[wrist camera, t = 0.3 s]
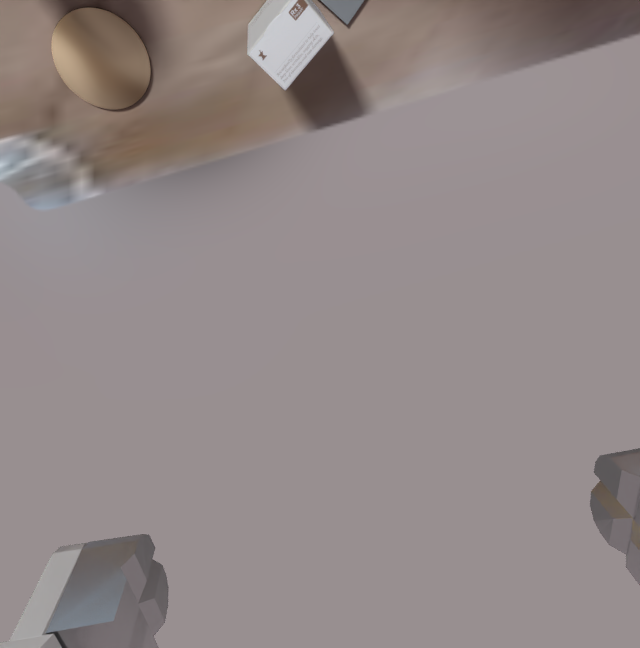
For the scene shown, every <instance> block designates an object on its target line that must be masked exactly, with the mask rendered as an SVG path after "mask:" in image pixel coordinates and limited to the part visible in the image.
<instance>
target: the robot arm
mask: <svg viewBox="0 0 640 648" xmlns="http://www.w3.org/2000/svg"><path fill="white" fill-rule="evenodd" d="M594 473H595V475H596V476H597V477H598V478H599V479H600V480H601V481H600V482H599V483H598V484H597V485H596V486H595V488H594V489H593V490H592V491H591V500H590V507H591V511H592V515H593V519H594V521H595V523H596V526H597V527H598V529H599V531H600V533H601V534H602V536H603V537H604V538H605V540H606V541H607V543H608V544H609V545H610V546H612V547H614V548H616V549H618V550H619V551H621V552H623V553H625V554H626V568H627V569H628V570H629V572H630V573H631V574H632V576H633V577H634V578H635V580H636V581H637V582H638V584H639V585H640V448H638V449H633V450H628V451H622V452H617V453H611V454H606V455H601V456H599V458H598V459H597V461H596V462H595V468H594ZM154 551H155V546H154V544H153V542H152V540H151V538H150V536H149V535H146V534H141V535H134V536H127V537H120V538H113V539H106V540H100V541H93V542H88V543H82V544H75V545H69V546H62V547H60V548H59V549H58V550H57V551H55V552H54V553H53V554H52V556H51V558H50V560H49V562H48V564H47V566H46V568H45V570H44V572H43V574H42V576H41V578H40V580H39V582H38V584H37V586H36V588H35V590H34V592H33V594H32V596H31V598H30V600H29V602H28V604H27V606H26V608H25V610H24V612H23V614H22V616H21V618H20V621H19V622H18V624H17V626H16V628H15V630H14V632H13V634H12V636H11V638H10V641H7V642H2V643H0V648H158V646H157V643H156V641H155V639H154V635H155V634H156V633H157V632H158V630H159V629H160V628H161V626H162V625H163V624H164V623H165V619H166V614H167V608H168V583H167V577H166V573H165V571H164V568H163V566H162V565H161V564H160V563H158V562H156V561H155V560H153V559H152V558H153V554H154Z"/></svg>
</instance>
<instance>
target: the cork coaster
mask: <svg viewBox="0 0 640 648" xmlns="http://www.w3.org/2000/svg"><path fill="white" fill-rule="evenodd" d="M52 55H53V60H54V63H55V66H56V68H57V71H58V72H59V74H60V76H61V78H62V79H63V81H64V82H65V83H66V85H67V86H68V87H69V88H70V89H71V90H72V91H73V92H74V93H75V94H76V95H77V96H79V97H80V98H81V99H83V100H84V101H86V102H88V103H90V104H92V105H94V106H97V107H100V108H104V109H114V110H115V109H123V108H127V107H129V106H131V105H133V104H135V103H136V102H137V101H138V100H140V98H141V97H142V96H143V95H144V93H145V91H146V90H147V87H148V85H149V81H150V75H151V66H150V60H149V56H148V53H147V50H146V48H145V46H144V44H143V42H142V40H141V39H140V37H139V36H138V34H137V33H136V32H135V31H134V29H133V28H132V27H131V26H130V25H129V24H128V23H126V22H125V21H124V20H123V19H121V18H120V17H118V16H117V15H115V14H113V13H111V12H109V11H106V10H103V9H99V8H91V7H86V8H80V9H76V10H74V11H71V12H69V13H68V14H67V15H65V16H64V17H63V18H62V19H61V20H60V21H59V23H58V24H57V25H56V28H55V30H54V33H53V36H52Z"/></svg>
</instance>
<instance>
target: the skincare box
mask: <svg viewBox="0 0 640 648" xmlns="http://www.w3.org/2000/svg"><path fill="white" fill-rule="evenodd" d="M333 34H334V31H333V30H332V28H331V26H330V25H329V24H328V22H327V21H326V19H325V17H324V16H323V14H322V13H321V11H320V10H319V8H318V7H317V6H316V5H315V4H314V3H313V2H312V0H267V1H266V2H265V4H264V5H263V6H262V7H261V9H260V10H259V11H258V13H257V14H256V15H255V16H254V18H253V19H252V20H251V21H250V23H249V24H248V45H247V54H248V56H249V57H251V58H252V59H253V60H254V61H255V62H256V63H257V64H258V65H259V66H260V67H261V68H262V69H263V70H264V71H265V72H266V73H267V74H268V75H269V76H271V77H272V78H273V79H274V80H275V81H276V82H277V83H278V84H279V86H280V87H281V88H282V89H283V90H287V88H288V87H289V86H290V85H291V84H292V82H293V81H294V80H295V79H296V78H297V76H298V75H299V74H300V73H301V72H302V70H303V69H304V68H305V67H306V66H307V65H308V63H309V62H310V61H311V60H312V59H313V57H314V56H315V55H316V54H317V53H318V52H319V50H320V49H321V48H322V47H323V46H324V44H325V43H326V42H327V41H328V40H329V38H330V37H331V36H332V35H333Z"/></svg>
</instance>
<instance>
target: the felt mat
mask: <svg viewBox="0 0 640 648" xmlns="http://www.w3.org/2000/svg"><path fill="white" fill-rule="evenodd" d="M321 1H322V2H323V3H324V4H325V5H326V6H327V7H328V8H329V9H330V10H332V11H333V12H334V13H335V14H336V15H337V16H338V17H339V18H340V19H341V20H342V21H344V22H345V23H346V24H347V25H348V23H349V22H350V20H351V19H352V17H353V16H354V14H355V13H356V12H357V10H358V9H359V7H360V6H361V4H362V3H363V1H364V0H321Z"/></svg>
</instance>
